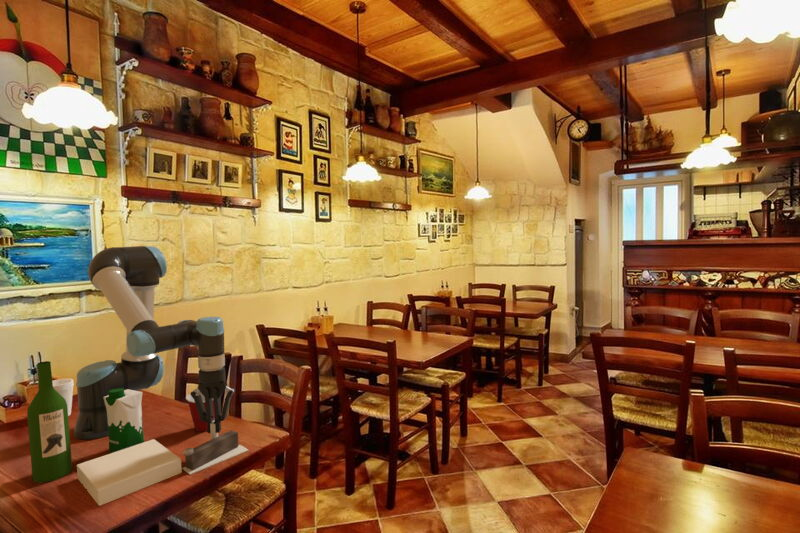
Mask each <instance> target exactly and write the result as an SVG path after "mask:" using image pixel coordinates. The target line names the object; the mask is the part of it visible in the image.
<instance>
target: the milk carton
mask: <svg viewBox="0 0 800 533" xmlns="http://www.w3.org/2000/svg"><path fill="white" fill-rule="evenodd" d="M103 398H104V402H105V406H106V410H107V419H108V433H109V435H108V452H109V454H111V453H114V452H117V451H120V450H123V449H126V448H129V447H132V446H135V445H138V444H141V443H144V442H145V435H144V434H145V433H144V427H143V426H144V425H143V411H142V400H143V391H141V390H138V391H135V390H129V389H127V390H124V388H116V389H112V390H110V391H109V395H108V396H105V397H103Z"/></svg>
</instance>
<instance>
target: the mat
mask: <svg viewBox="0 0 800 533" xmlns="http://www.w3.org/2000/svg"><path fill="white" fill-rule="evenodd" d="M249 450H250V449H248V448H247V447H245V446H243V445H242V444H238V447H236V448H234V449H232V450H230V451H228V452H226V453H224V454H223V455H221V456H219V457H217V458H215V459H213V460H211V461H209V462H207V463H205V464H204V465H202V466H200V467H198V468H196V469H194V470H192V469H189V468H186V465H185V466H183V467H181V470H183V471H184V472H186V473H187V474H188V475H189V476H190V475H193V474H195V473H198V472H200V471H203V470H205V469H208V468H209V467H212V466H215V465H217V464H220V463H222V462H225V461H226V460H229V459H232V458H235V457H236V456H239V455H241V454H243V453H244V454H245V453H246V452H249Z"/></svg>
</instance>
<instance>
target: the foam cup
mask: <svg viewBox="0 0 800 533" xmlns="http://www.w3.org/2000/svg"><path fill="white" fill-rule="evenodd" d="M52 383H53V388H54V389H55V390H56V391H57V392H58V393H59V394H60V395H61V396H62V397H63V398H64V399H65V400H66V403H67V409H68V417H70V416H71V414H72V406H73V395H74V394H73V393H74V386H75V382H74V379H73V378H59V379H55V380H52Z"/></svg>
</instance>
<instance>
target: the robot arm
mask: <svg viewBox="0 0 800 533" xmlns="http://www.w3.org/2000/svg"><path fill="white" fill-rule="evenodd" d="M167 266H168V264H167V261H166V258H165V255H164V253H163V252H162V251H161V249H159V247H157V246H147V245H140V246H136V245H135V246H123V247H121V246H120V247H117V246H116V247H113V246H112V247H108V248H107V247H106V248H104V249H102V250H101V251H99V252H97V254H95V255H94V256H93V257H92V259H91V260H90V263H89V265H88V270H87V271H88V277H89V278H88V279H89V280H90V283H91V285H93V287H94V288H95V289H96V290H99V291H101V293H102V294H103V296H104V297H105V299H106V300H107V301H108V303H109V306H111V308H112V309H113V311H114V312H115V314H116V316H118V317H117V318H119V320H120V322H121V323H122V325H123V326H124V328H125V329H126V338H125V340H126V342H125V343H126V344H125V346H126V348H125V352H123V353H122V354H121V356H120V358H121V359H120V362H116V361H115V360H111V359H110V360H109V359H108V360H107V359H106V360H103V361H101V360H100V361H97V362H94V363H90V364H88V365H86V366H84V367H82V368H81V369H79V370H78V372H77V373H76V383H75V386H76V391H77V404H78V415H77V417H76V418H77V419H76V421H75V425H74V428H73V435H74V438H76V439H78V440H94V439H98V438H104V437H107V436H108V437H109V433H108V419H107V410H106V406H105V402H104V398H103V397H105V396H108V395H109V391H110V390H112V389H116V388H124V390H127V389H129V390H135V391H142V390H146V389H149V388H151V387H154V386H157V385H158V384H159V383H160V382H161V381H162V379H163V376H164V373H165V365H164V364H163V363H164V361H163V358H162V356H161V355H159V354H158V353H161V352H162V353H163V352H168V351H171V350H177V349H180V348H187V347H189V346H191V347H192V346H193V347H197V361H198V364H197V365H198V366H197V367H198V369H199V370H198V386H197V388H195V389H193V390H192V391H191V392H190V393H189V394H190V395H191V396H192V397H193V399H194V401H195V404H196V407H197V411H198V414H199V417H200V420H201V422H203V421H204V422H206V423H207V433H208V434H210V440H212V439H214V438H216V437H218V436H219V433H220V432H221V430H222V422H223V421H225V420H226V419H227V417H228V413H229V411H230V410H229V409H230V404H231V399H232V396H233V394H234V393H235V391H236V389H235V388H234V387H232V388H231V387H229V386H228V383H227V381H226V367H225V366H226V357H225V355H226V354H225V327H224V320H223V318H222V317H220V316H205V317H200V318H198V319H197V320H193V319H183V320H180V321H179V322H178V323H174V324H173V323H172V324H168V325H162V326H159V324H158V323H157V322H156V321H155V318H154V317H155V316H154V315H155V288H156V287H158V286H159V285H160V278H161V279H162V278H164V277H166V273H167V271H168V267H167ZM224 392H225V393H224ZM201 393H202V394H203V396H204V397H205V402H206V410H205V407H204V404H203V400H202V397H201V395H200V394H201ZM223 394H225V398H224V401H223V406H222V400H221V399H222V395H223ZM213 402H214V418H213ZM213 419H214V420H213Z"/></svg>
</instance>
